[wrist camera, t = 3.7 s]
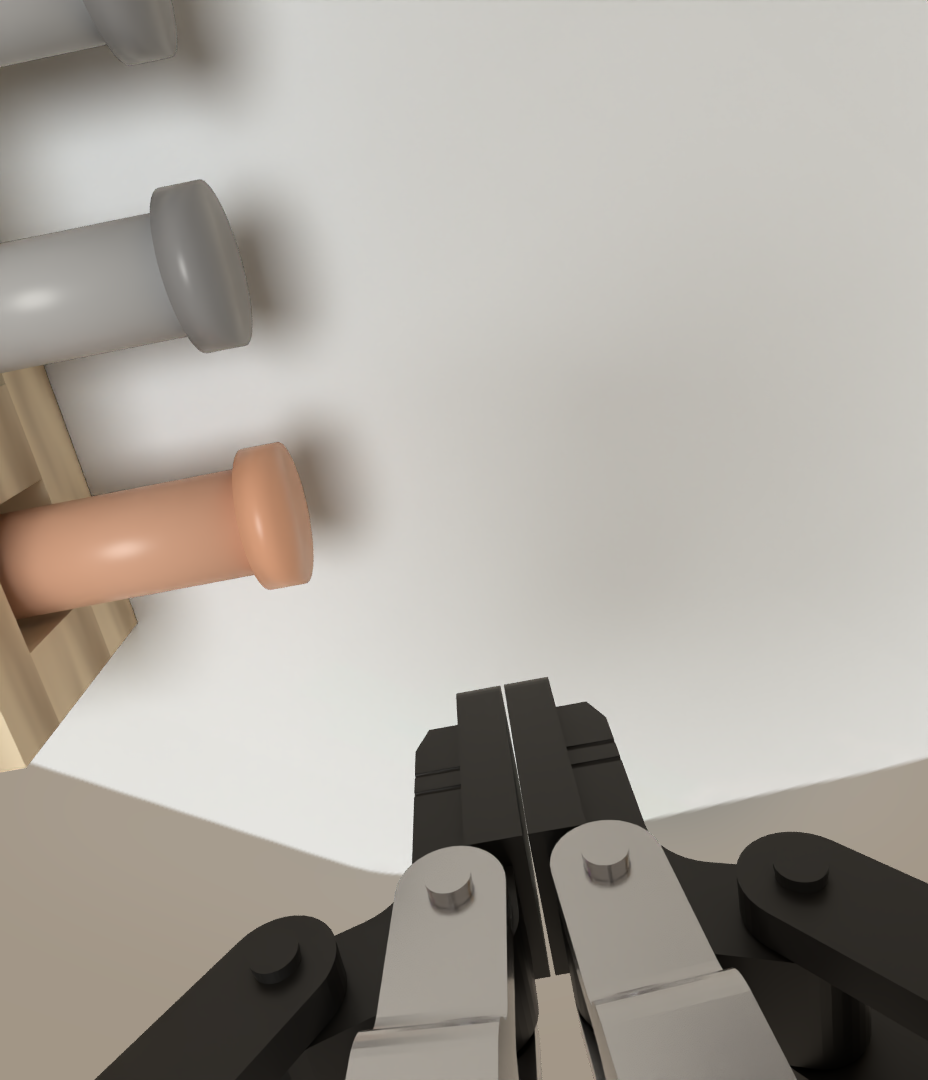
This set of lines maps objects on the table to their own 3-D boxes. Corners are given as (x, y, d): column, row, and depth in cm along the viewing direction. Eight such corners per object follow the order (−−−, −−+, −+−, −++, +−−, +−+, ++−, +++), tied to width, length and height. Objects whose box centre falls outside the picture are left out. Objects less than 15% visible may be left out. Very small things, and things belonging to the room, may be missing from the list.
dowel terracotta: (286, 427, 29) (259, 463, 24) (319, 552, 30) (300, 607, 26) (-12, 485, 29) (-93, 531, 25) (37, 605, 31) (-31, 668, 26)
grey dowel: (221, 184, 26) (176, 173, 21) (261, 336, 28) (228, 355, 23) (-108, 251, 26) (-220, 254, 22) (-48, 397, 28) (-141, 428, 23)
